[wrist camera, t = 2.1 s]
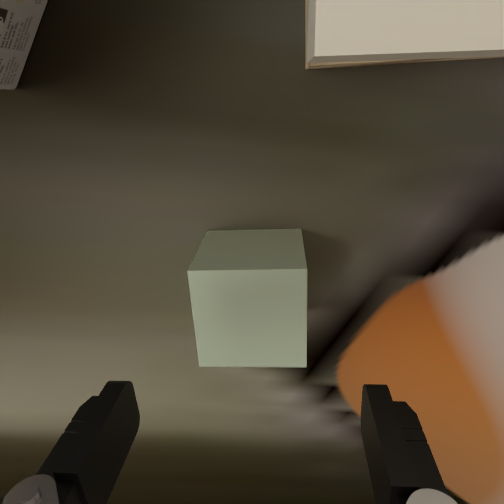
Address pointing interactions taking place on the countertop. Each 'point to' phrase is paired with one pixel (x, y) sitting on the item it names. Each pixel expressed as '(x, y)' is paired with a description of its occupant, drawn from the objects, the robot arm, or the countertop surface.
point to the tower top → (403, 29)
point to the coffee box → (17, 37)
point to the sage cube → (250, 298)
